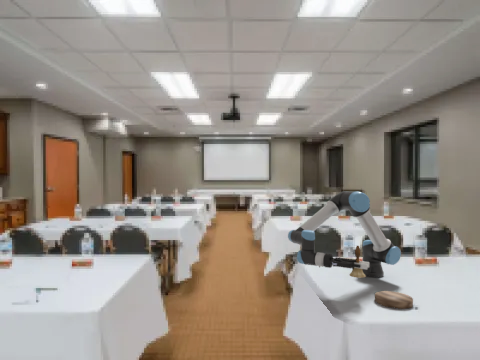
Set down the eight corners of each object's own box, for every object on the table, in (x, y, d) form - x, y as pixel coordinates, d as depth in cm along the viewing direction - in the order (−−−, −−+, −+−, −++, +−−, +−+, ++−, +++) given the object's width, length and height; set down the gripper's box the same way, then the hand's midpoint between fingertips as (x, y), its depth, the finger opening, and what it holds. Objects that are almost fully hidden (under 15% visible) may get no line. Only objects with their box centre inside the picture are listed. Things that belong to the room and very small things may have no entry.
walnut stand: (390, 294, 193) (390, 289, 193) (420, 305, 177) (420, 299, 177) (367, 299, 184) (367, 294, 184) (397, 311, 168) (397, 305, 168)
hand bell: (346, 273, 191) (347, 244, 191) (361, 273, 191) (362, 244, 191) (353, 278, 182) (353, 247, 182) (368, 277, 183) (368, 247, 183)
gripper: (329, 263, 203) (371, 269, 191) (319, 270, 188) (364, 276, 176) (329, 250, 203) (371, 255, 191) (319, 256, 188) (365, 261, 176)
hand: (368, 265), depth 184 cm, fingers closed on hand bell, 4 cm apart
